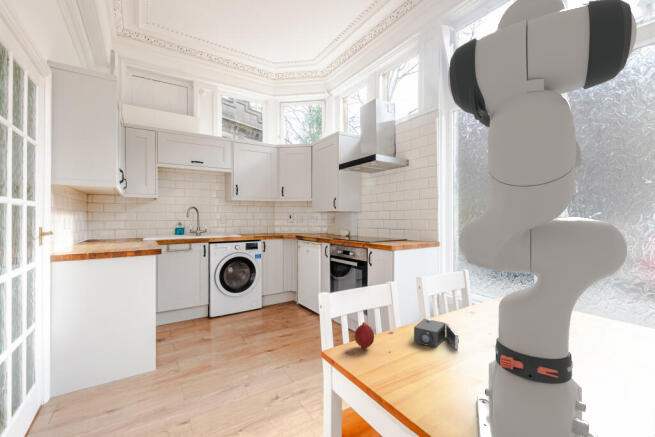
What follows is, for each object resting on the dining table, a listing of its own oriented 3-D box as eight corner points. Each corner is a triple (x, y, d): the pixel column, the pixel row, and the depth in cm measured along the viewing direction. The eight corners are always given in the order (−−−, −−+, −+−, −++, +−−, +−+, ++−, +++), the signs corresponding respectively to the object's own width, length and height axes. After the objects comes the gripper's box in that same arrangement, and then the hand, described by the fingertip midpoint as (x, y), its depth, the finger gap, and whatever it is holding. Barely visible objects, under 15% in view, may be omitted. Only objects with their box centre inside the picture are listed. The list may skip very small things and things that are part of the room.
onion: (355, 343, 90) (355, 317, 90) (374, 345, 89) (374, 319, 89) (353, 352, 85) (353, 324, 85) (373, 354, 83) (373, 326, 84)
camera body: (435, 349, 87) (435, 331, 87) (412, 343, 91) (412, 326, 91) (445, 336, 96) (445, 321, 96) (424, 331, 100) (424, 316, 100)
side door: (459, 349, 87) (459, 335, 87) (455, 349, 87) (455, 335, 87) (449, 336, 96) (449, 323, 96) (445, 336, 96) (445, 323, 96)
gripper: (489, 142, 85) (489, 189, 85) (582, 129, 73) (582, 184, 73) (492, 146, 90) (492, 191, 90) (580, 135, 78) (580, 187, 78)
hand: (533, 188), depth 81 cm, fingers open, 8 cm apart
